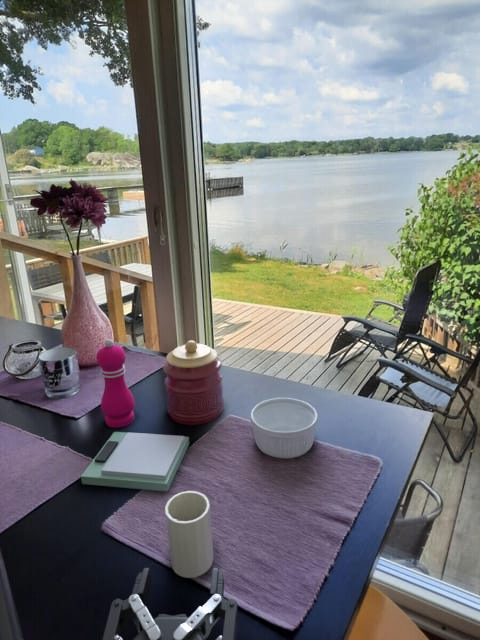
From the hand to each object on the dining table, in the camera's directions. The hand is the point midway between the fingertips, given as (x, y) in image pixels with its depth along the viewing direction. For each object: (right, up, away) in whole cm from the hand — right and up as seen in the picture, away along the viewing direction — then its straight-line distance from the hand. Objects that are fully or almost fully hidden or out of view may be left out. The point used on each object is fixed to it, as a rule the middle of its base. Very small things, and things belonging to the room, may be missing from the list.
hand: (181, 572), depth 55 cm
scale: (-12, +4, +30) cm, 32 cm away
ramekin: (+16, +6, +35) cm, 39 cm away
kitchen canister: (-3, +10, +47) cm, 48 cm away
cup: (0, -3, +8) cm, 9 cm away
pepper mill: (-20, +8, +44) cm, 49 cm away
